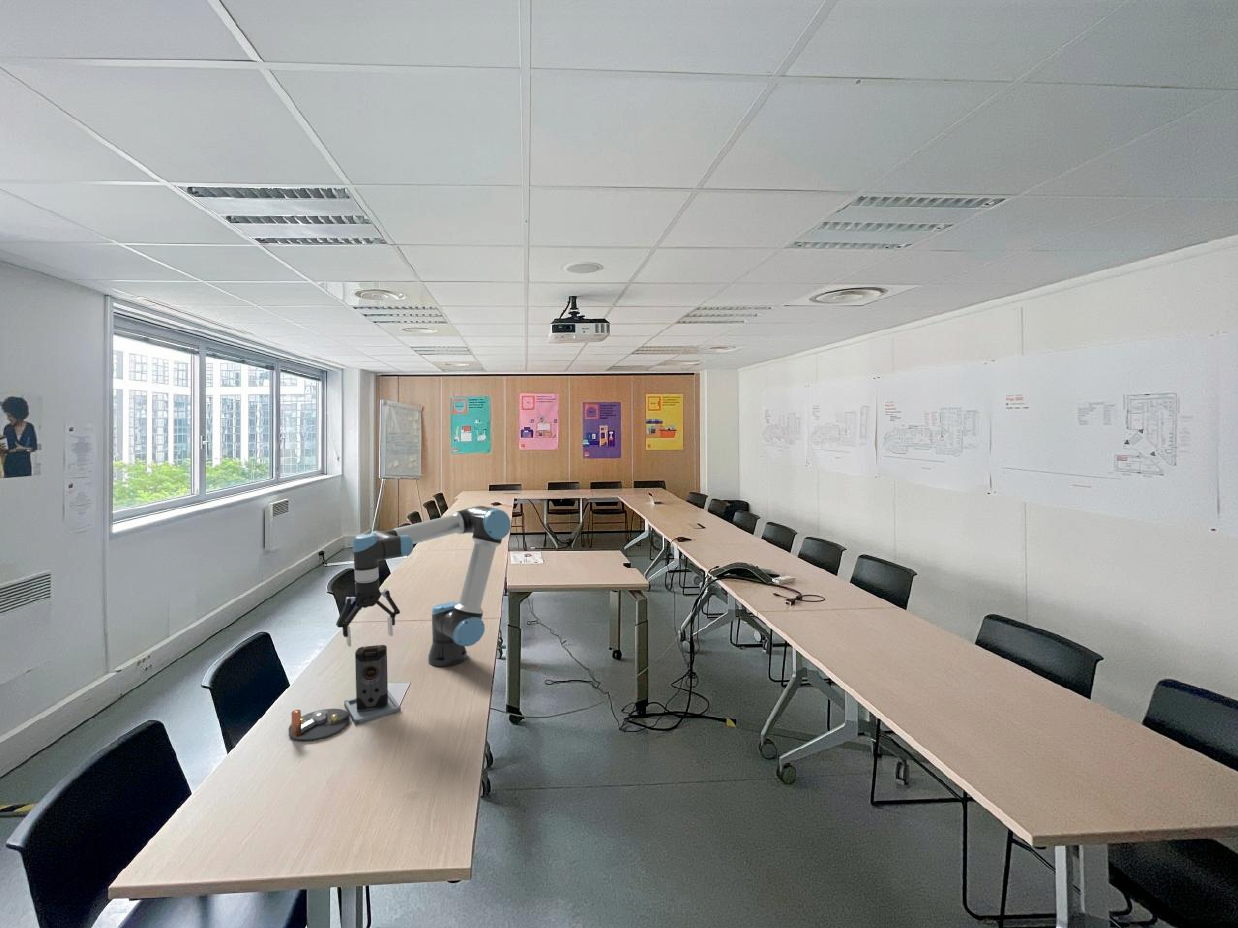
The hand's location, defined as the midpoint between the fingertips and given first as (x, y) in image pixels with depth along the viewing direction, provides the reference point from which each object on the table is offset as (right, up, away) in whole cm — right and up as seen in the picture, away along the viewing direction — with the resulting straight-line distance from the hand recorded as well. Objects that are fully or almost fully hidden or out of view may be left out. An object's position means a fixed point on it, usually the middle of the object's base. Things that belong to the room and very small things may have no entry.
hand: (370, 640), depth 189 cm
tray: (+3, -22, -5) cm, 22 cm away
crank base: (-8, -22, -17) cm, 29 cm away
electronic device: (+3, -21, -5) cm, 22 cm away
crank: (-10, -20, -20) cm, 30 cm away
